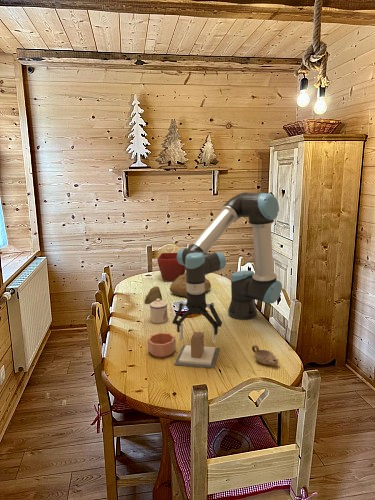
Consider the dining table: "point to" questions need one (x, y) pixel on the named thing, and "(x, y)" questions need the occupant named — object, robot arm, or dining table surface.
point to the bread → (184, 286)
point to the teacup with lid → (158, 311)
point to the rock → (153, 295)
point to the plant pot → (170, 266)
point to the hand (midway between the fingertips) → (197, 340)
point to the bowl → (161, 344)
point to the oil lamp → (264, 356)
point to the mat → (197, 364)
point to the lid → (197, 351)
